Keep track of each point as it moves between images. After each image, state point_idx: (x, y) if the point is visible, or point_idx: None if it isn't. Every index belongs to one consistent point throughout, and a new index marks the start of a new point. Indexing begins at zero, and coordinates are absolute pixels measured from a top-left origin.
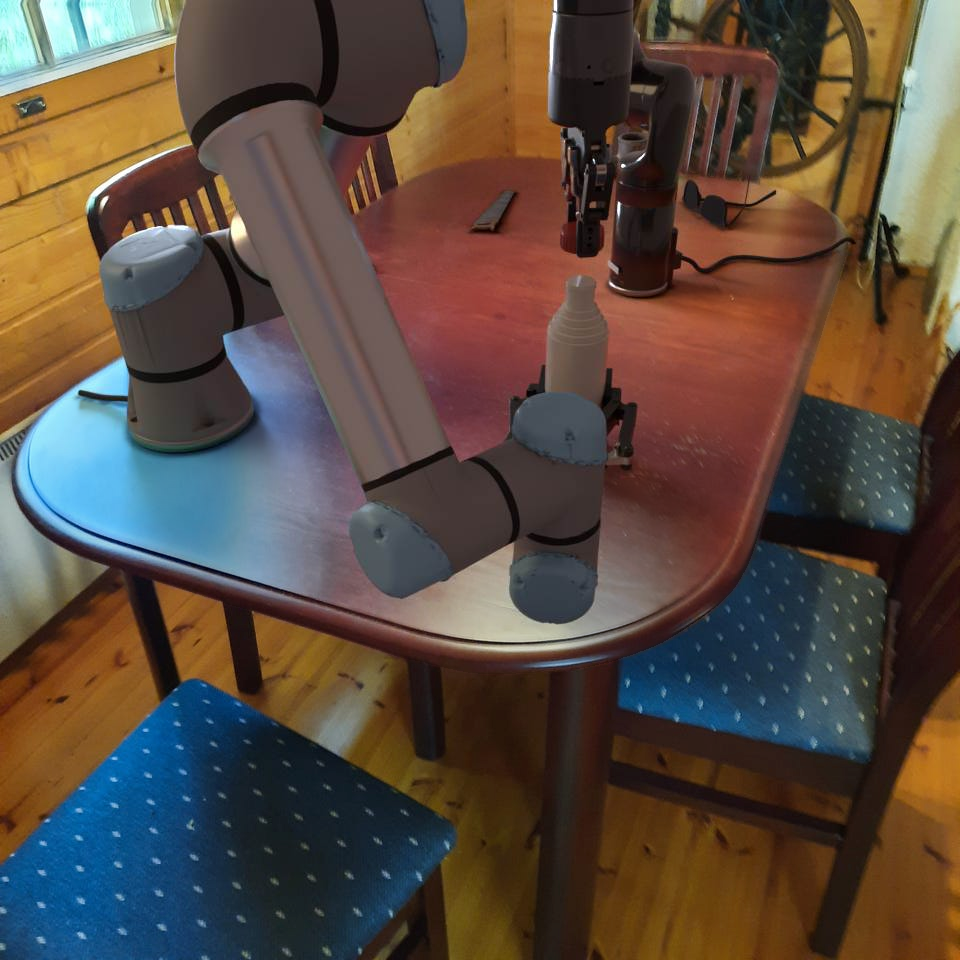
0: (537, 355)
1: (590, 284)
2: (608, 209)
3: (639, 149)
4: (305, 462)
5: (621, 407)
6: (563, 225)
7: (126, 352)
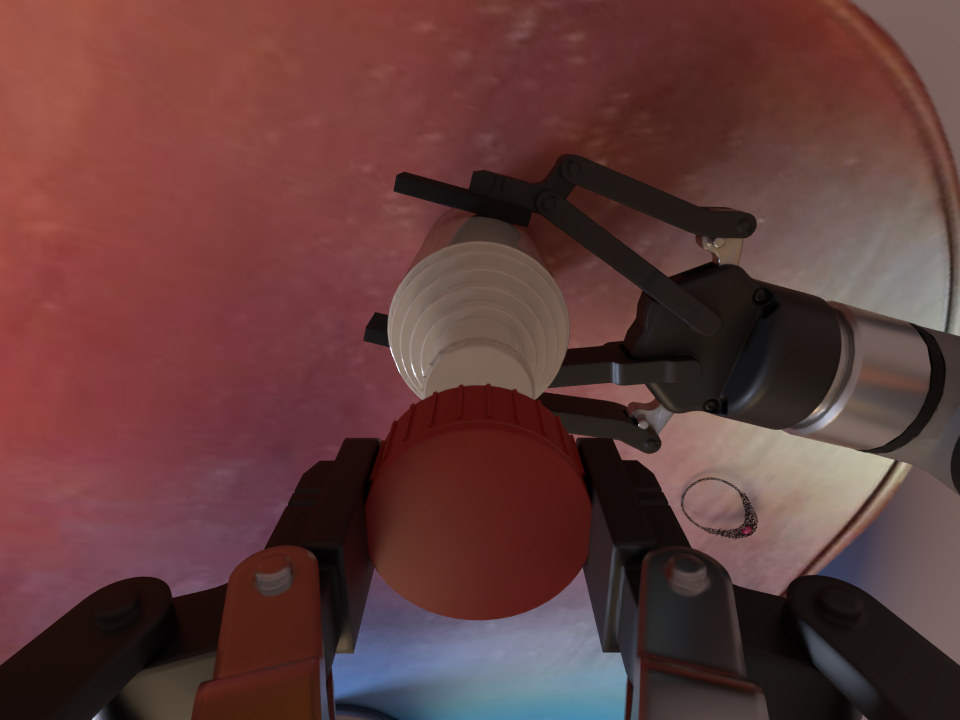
0: (118, 263)
1: (514, 371)
2: (945, 659)
3: None
4: (469, 640)
5: (561, 191)
6: (425, 605)
7: None
